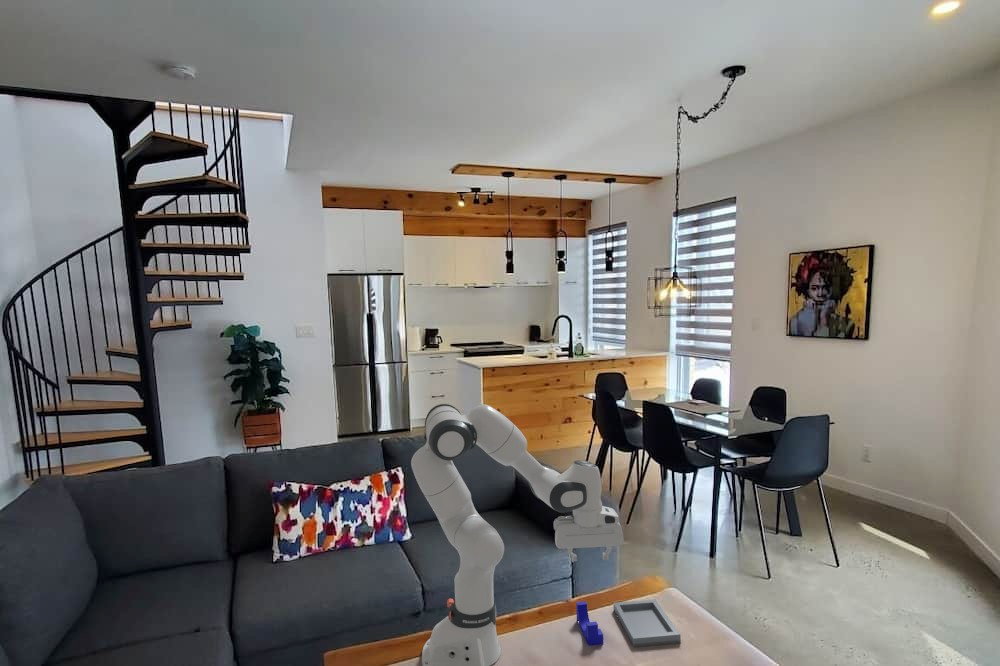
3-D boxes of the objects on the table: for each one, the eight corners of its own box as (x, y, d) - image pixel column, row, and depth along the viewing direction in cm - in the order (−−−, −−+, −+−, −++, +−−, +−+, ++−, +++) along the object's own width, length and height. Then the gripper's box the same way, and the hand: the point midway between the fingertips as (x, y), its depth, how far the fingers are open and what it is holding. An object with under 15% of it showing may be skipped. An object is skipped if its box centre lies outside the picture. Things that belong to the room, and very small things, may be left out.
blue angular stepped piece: (603, 644, 141) (602, 624, 141) (588, 646, 141) (587, 625, 141) (590, 619, 153) (590, 600, 153) (576, 621, 153) (576, 602, 153)
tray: (633, 647, 140) (633, 638, 139) (613, 610, 157) (613, 602, 157) (680, 642, 141) (680, 634, 141) (655, 607, 159) (655, 599, 159)
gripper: (554, 521, 143) (556, 567, 143) (624, 517, 143) (626, 563, 143) (551, 512, 149) (554, 557, 149) (618, 508, 149) (620, 553, 149)
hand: (590, 560), depth 146 cm, fingers open, 8 cm apart
